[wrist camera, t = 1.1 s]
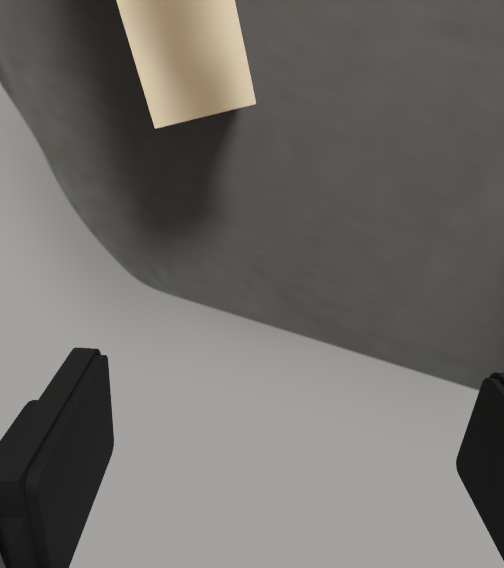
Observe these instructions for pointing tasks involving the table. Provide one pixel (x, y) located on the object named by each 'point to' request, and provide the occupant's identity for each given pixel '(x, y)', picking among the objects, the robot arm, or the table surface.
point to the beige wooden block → (188, 57)
